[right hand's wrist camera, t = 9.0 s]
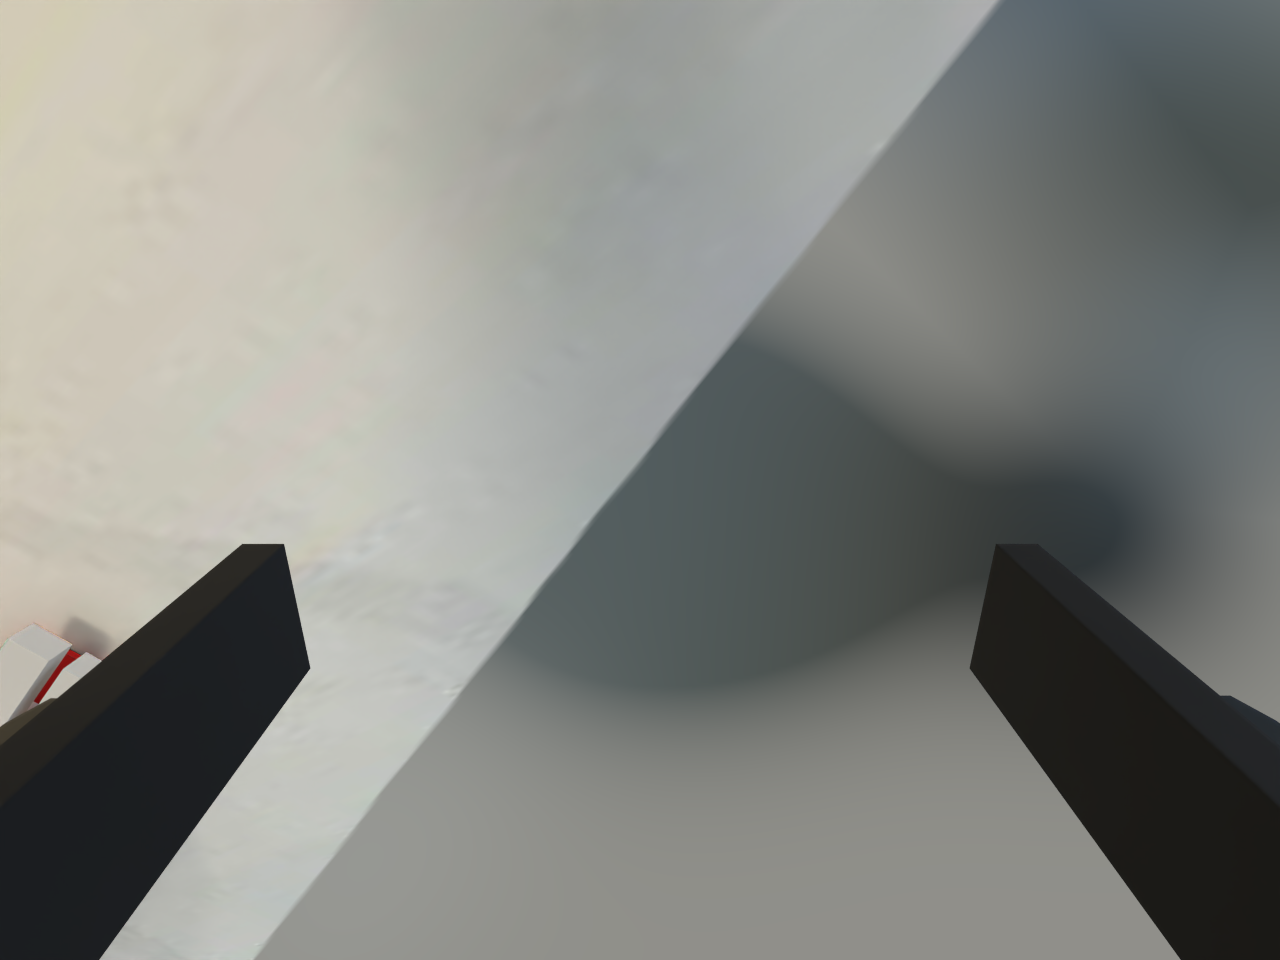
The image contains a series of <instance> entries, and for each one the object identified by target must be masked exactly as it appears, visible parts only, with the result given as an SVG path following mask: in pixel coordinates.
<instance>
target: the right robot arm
mask: <svg viewBox="0 0 1280 960" xmlns="http://www.w3.org/2000/svg"><path fill="white" fill-rule="evenodd" d="M309 669H310V665H309V660H308V655H307V650H306V646H305V641H304V636H303V632H302V627H301V622H300V617H299V613H298V608H297V603H296V599H295V594H294V589H293V584H292V580H291V575H290V570H289V566H288V561H287V556H286V551H285V547H284V544H242V545H241V546H239V547H238V548H237V549H236V550H235V551H233V552H232V553H231V554H230V555H229V556H227V557H226V558H225V559H224V560H223V561H221V562H220V563H219V564H218V565H217V566H215V567H214V568H213V569H212V570H211V571H209V572H208V573H207V574H206V575H205V576H203V577H202V578H201V579H200V580H199V581H197V582H196V583H195V584H194V585H193V586H191V587H190V588H189V589H188V590H187V591H185V592H184V593H183V594H182V595H181V596H179V597H178V598H177V599H176V600H175V601H173V602H172V603H171V604H170V605H169V606H167V607H166V608H165V609H164V610H163V611H161V612H160V613H159V614H158V615H157V616H155V617H154V618H153V619H152V620H151V621H149V622H148V623H147V624H146V625H145V626H143V627H142V628H141V629H140V630H138V631H137V632H136V633H135V634H134V635H132V636H131V637H130V638H129V639H128V640H126V641H125V642H124V643H123V644H122V645H120V646H119V647H118V648H117V649H116V650H114V651H113V652H112V653H111V654H110V655H108V656H107V657H106V658H105V659H104V660H102V661H101V662H100V663H99V664H98V665H96V666H95V667H94V668H93V669H92V670H90V671H89V672H88V673H87V674H86V675H84V676H83V677H82V678H81V679H80V680H78V681H77V682H76V683H75V684H74V685H72V686H71V687H70V688H69V689H68V690H66V691H65V692H64V693H63V694H62V695H60V696H59V697H58V698H50V699H48V700H46V701H44V702H43V703H41V704H39V705H37V706H35V707H33V708H32V709H30V710H28V711H26V712H24V713H23V714H21V715H19V716H17V717H15V718H13V719H12V720H10V721H8V722H6V723H4V724H3V725H2V726H1V727H0V960H99V959H100V958H101V956H102V955H103V954H104V952H105V951H106V950H107V948H108V947H109V945H110V944H111V943H112V941H113V940H114V939H115V937H116V936H117V934H118V933H119V932H120V930H121V929H122V928H123V926H124V925H125V923H126V922H127V921H128V919H129V918H130V916H131V915H132V914H133V912H134V911H135V910H136V908H137V907H138V905H139V904H140V903H141V901H142V900H143V899H144V897H145V896H146V894H147V893H148V892H149V890H150V889H151V887H152V886H153V885H154V883H155V882H156V881H157V879H158V878H159V876H160V875H161V874H162V872H163V871H164V870H165V868H166V867H167V865H168V864H169V863H170V861H171V860H172V858H173V857H174V856H175V854H176V853H177V852H178V850H179V849H180V847H181V846H182V845H183V843H184V842H185V841H186V839H187V838H188V836H189V835H190V834H191V832H192V831H193V830H194V828H195V827H196V825H197V824H198V823H199V821H200V820H201V818H202V817H203V816H204V814H205V813H206V812H207V810H208V809H209V807H210V806H211V805H212V803H213V802H214V801H215V799H216V798H217V796H218V795H219V794H220V792H221V791H222V789H223V788H224V787H225V785H226V784H227V783H228V781H229V780H230V778H231V777H232V776H233V774H234V773H235V772H236V770H237V769H238V767H239V766H240V765H241V763H242V762H243V761H244V759H245V758H246V756H247V755H248V754H249V752H250V751H251V749H252V748H253V747H254V745H255V744H256V743H257V741H258V740H259V738H260V737H261V736H262V734H263V733H264V732H265V730H266V729H267V727H268V726H269V725H270V723H271V722H272V720H273V719H274V718H275V716H276V715H277V714H278V712H279V711H280V709H281V708H282V707H283V705H284V704H285V703H286V701H287V700H288V698H289V697H290V696H291V694H292V693H293V692H294V690H295V689H296V687H297V686H298V685H299V683H300V682H301V680H302V679H303V678H304V676H305V675H306V674H307V672H308V671H309ZM970 669H971V671H972V672H973V674H974V675H975V676H976V678H977V679H978V680H979V682H980V683H981V685H982V686H983V687H984V689H985V690H986V692H987V693H988V694H989V695H990V697H991V698H992V700H993V701H994V703H995V704H996V705H997V707H998V708H999V709H1000V711H1001V712H1002V714H1003V715H1004V716H1005V718H1006V719H1007V720H1008V722H1009V723H1010V725H1011V726H1012V727H1013V729H1014V730H1015V731H1016V733H1017V734H1018V736H1019V737H1020V738H1021V740H1022V741H1023V743H1024V744H1025V745H1026V747H1027V748H1028V749H1029V751H1030V752H1031V754H1032V755H1033V756H1034V758H1035V759H1036V761H1037V762H1038V763H1039V765H1040V766H1041V767H1042V769H1043V770H1044V772H1045V773H1046V774H1047V776H1048V777H1049V778H1050V780H1051V781H1052V783H1053V784H1054V785H1055V787H1056V788H1057V789H1058V791H1059V792H1060V794H1061V795H1062V796H1063V798H1064V799H1065V800H1066V802H1067V803H1068V805H1069V806H1070V807H1071V809H1072V810H1073V812H1074V813H1075V814H1076V816H1077V817H1078V818H1079V820H1080V821H1081V822H1082V824H1083V825H1084V827H1085V828H1086V830H1087V831H1088V832H1089V834H1090V835H1091V836H1092V838H1093V839H1094V840H1095V842H1096V843H1097V845H1098V846H1099V847H1100V849H1101V850H1102V852H1103V853H1104V854H1105V856H1106V857H1107V858H1108V860H1109V861H1110V863H1111V864H1112V865H1113V867H1114V868H1115V870H1116V871H1117V872H1118V874H1119V875H1120V876H1121V878H1122V879H1123V881H1124V882H1125V883H1126V885H1127V886H1128V887H1129V889H1130V890H1131V892H1132V893H1133V894H1134V896H1135V897H1136V899H1137V900H1138V901H1139V903H1140V904H1141V905H1142V907H1143V908H1144V910H1145V911H1146V912H1147V914H1148V915H1149V916H1150V918H1151V919H1152V921H1153V922H1154V923H1155V925H1156V926H1157V927H1158V929H1159V930H1160V932H1161V933H1162V934H1163V936H1164V937H1165V939H1166V940H1167V941H1168V943H1169V944H1170V945H1171V947H1172V948H1173V950H1174V951H1175V952H1176V954H1177V955H1178V956H1179V958H1180V959H1181V960H1280V723H1278V722H1277V721H1276V720H1274V719H1272V718H1270V717H1268V716H1266V715H1265V714H1263V713H1261V712H1259V711H1257V710H1256V709H1254V708H1252V707H1250V706H1248V705H1246V704H1245V703H1243V702H1241V701H1239V700H1237V699H1235V698H1234V697H1232V696H1220V695H1218V694H1217V693H1216V692H1215V691H1214V690H1212V689H1211V688H1210V687H1209V686H1208V685H1206V684H1205V683H1204V682H1203V681H1202V680H1200V679H1199V678H1198V677H1197V676H1196V675H1194V674H1193V673H1192V672H1191V671H1190V670H1188V669H1187V668H1186V667H1185V666H1184V665H1182V664H1181V663H1180V662H1179V661H1178V660H1176V659H1175V658H1174V657H1173V656H1172V655H1170V654H1169V653H1168V652H1167V651H1165V650H1164V649H1163V648H1162V647H1161V646H1160V645H1158V644H1157V643H1156V642H1155V641H1153V640H1152V639H1151V638H1150V637H1149V636H1148V635H1146V634H1145V633H1144V632H1143V631H1141V630H1140V629H1139V628H1138V627H1137V626H1135V625H1134V624H1133V623H1132V622H1131V621H1129V620H1128V619H1127V618H1126V617H1125V616H1123V615H1122V614H1121V613H1120V612H1119V611H1117V610H1116V609H1115V608H1114V607H1113V606H1111V605H1110V604H1109V603H1108V602H1107V601H1105V600H1104V599H1103V598H1102V597H1101V596H1099V595H1098V594H1097V593H1096V592H1095V591H1093V590H1092V589H1091V588H1090V587H1089V586H1087V585H1086V584H1085V583H1084V582H1083V581H1081V580H1080V579H1079V578H1078V577H1077V576H1075V575H1074V574H1073V573H1072V572H1071V571H1069V570H1068V569H1067V568H1066V567H1064V566H1063V565H1062V564H1061V563H1060V562H1059V561H1057V560H1056V559H1055V558H1054V557H1053V556H1051V555H1050V554H1049V553H1048V552H1047V551H1045V550H1044V549H1043V548H1042V547H1041V546H1039V545H1038V544H996V547H995V551H994V556H993V561H992V566H991V570H990V575H989V580H988V584H987V589H986V594H985V599H984V603H983V608H982V613H981V617H980V622H979V627H978V632H977V636H976V641H975V646H974V650H973V655H972V660H971V665H970Z"/></svg>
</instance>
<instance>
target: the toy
mask: <svg viewBox="0 0 1280 960" xmlns="http://www.w3.org/2000/svg"><path fill="white" fill-rule="evenodd" d="M72 645H73V644H71V643H69V642H68V641H66V640H64V639H62V638H60V637H59V636H57V635H55V634H53V633H51V632H50V631H48V630H46V629H44V628H42V627H41V626H39V625H37V624H35V623H33V624H31V625H29V626H28V627H26V628H24V629H23V630H21V631H19V632H17V633H16V634H14V635H12V636H11V637H9V638H8V639H7V640H6V642H5V643H4V645H3V646H2V648H1V649H0V727H1V726H2V725H3V724H4V723H6V722H8V721H10V720H12V719H13V718H15V717H17V716H19V715H21V714H23V713H24V712H26V711H28V710H30V709H32V708H33V707H35V706H37V705H39V704H41V703H43V702H44V701H46V700H48V699H50V698H58V697H59V696H60V695H62V694H63V693H64V692H65V691H66V690H68V689H69V688H70V687H71V686H72V685H74V684H75V683H76V682H77V681H78V680H80V679H81V678H82V677H83V676H84V675H86V674H87V673H88V672H89V671H90V670H92V669H93V668H94V667H95V666H96V665H98V664H99V663H100V662H101V661H102V660H100V659H98V658H96V657H94V656H93V655H91V654H89V653H87V652H86V653H85V654H83V655H82V656H81V655H79V654H77V653H76V652H74V651H72V650H70V648H71V646H72Z"/></svg>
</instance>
